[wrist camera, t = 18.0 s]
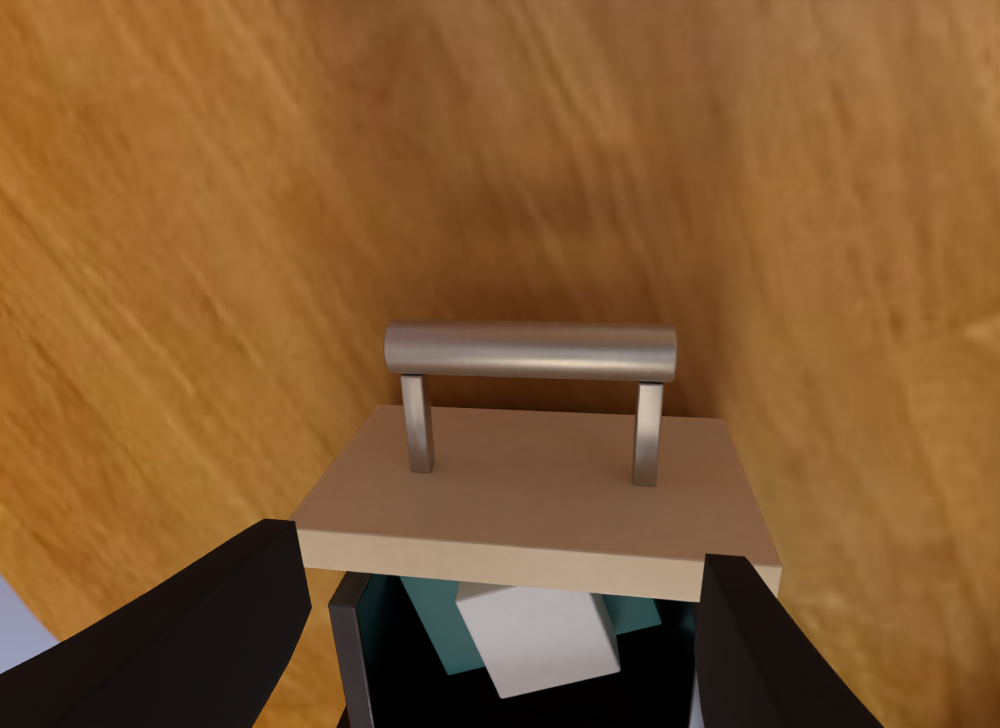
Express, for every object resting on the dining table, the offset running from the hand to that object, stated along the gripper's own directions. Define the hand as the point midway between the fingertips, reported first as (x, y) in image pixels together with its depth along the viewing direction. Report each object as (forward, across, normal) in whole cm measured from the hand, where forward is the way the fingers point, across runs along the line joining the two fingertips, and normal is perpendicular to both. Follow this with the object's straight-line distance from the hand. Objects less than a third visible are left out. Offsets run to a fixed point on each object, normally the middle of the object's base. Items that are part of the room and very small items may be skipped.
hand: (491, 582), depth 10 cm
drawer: (+10, 0, +6) cm, 11 cm away
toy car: (+8, 0, +6) cm, 10 cm away
